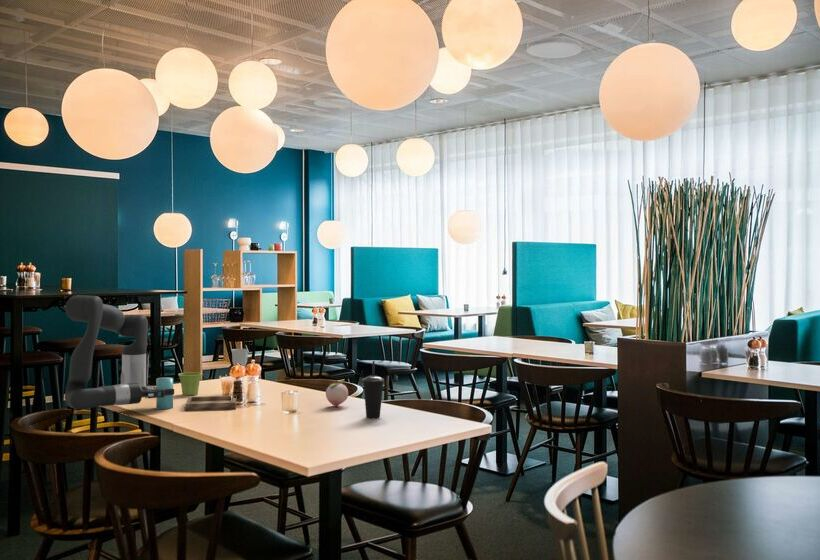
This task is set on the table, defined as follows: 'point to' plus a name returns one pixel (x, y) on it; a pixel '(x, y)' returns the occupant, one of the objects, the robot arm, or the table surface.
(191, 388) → the plant pot
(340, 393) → the decorative fruit
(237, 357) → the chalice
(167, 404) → the teal tumbler
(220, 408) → the walnut tray
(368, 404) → the drinking cup
